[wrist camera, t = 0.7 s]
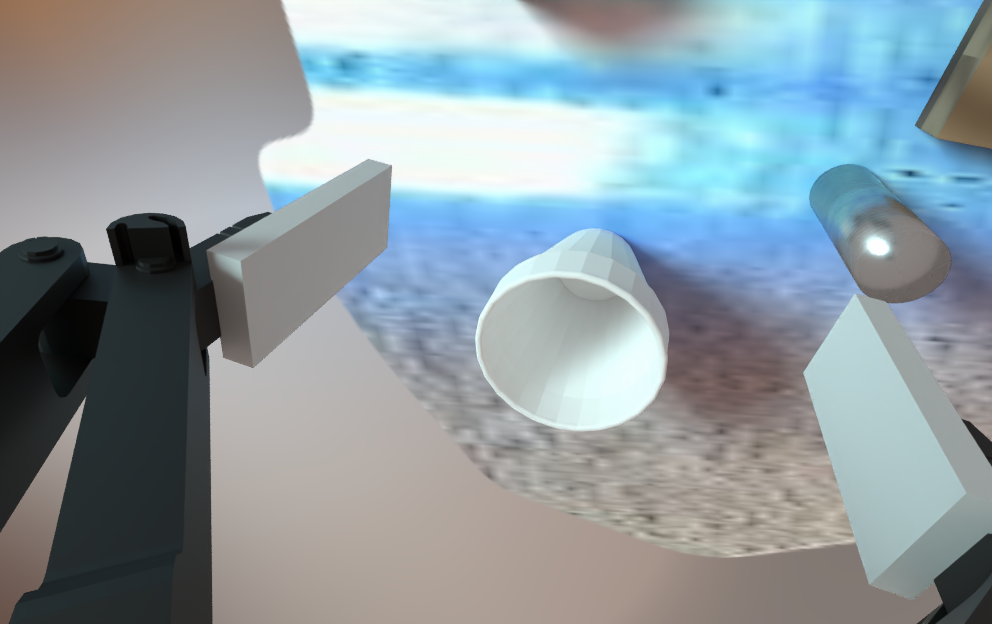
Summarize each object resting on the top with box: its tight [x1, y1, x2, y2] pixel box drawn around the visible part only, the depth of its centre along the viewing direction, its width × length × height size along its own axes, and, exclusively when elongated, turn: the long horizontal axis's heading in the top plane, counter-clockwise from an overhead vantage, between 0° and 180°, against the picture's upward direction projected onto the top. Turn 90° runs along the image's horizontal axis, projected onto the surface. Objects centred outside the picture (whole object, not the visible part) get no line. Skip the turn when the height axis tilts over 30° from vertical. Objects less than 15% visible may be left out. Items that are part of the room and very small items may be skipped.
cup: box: [475, 228, 670, 431], centre depth 39 cm, size 12×12×14 cm
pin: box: [809, 164, 951, 303], centre depth 32 cm, size 4×4×12 cm
